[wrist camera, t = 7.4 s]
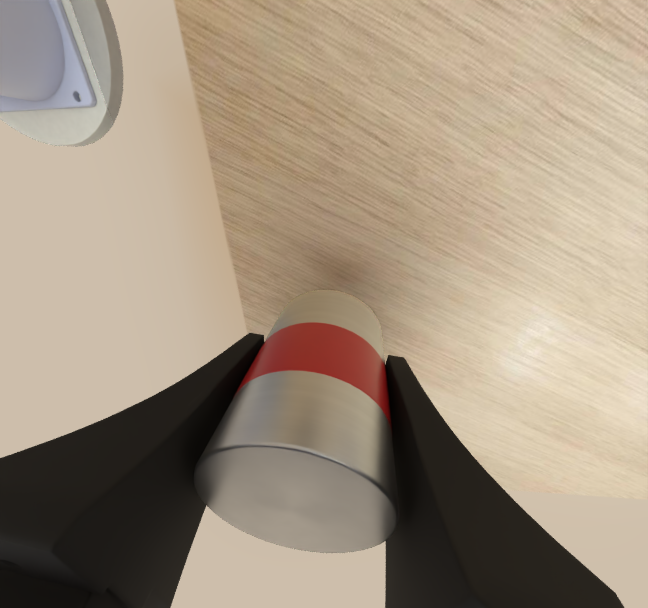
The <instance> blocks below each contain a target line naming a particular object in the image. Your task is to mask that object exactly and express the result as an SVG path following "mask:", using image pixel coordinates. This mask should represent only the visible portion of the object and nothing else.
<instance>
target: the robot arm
mask: <svg viewBox="0 0 648 608" xmlns="http://www.w3.org/2000/svg"><path fill="white" fill-rule="evenodd" d="M79 94H80V96H81V100H80V98H79ZM96 102H97V100H96V96H95V93H94V91H93V88H92V85H91V82H90V80H89V77H88V74H87V71H86V68H85V66H84V63H83V60H82V57H81V55H80V52H79V49H78V46H77V43H76V41H75V38H74V35H73V32H72V29H71V27H70V24H69V21H68V18H67V16H66V13H65V10H64V7H63V4H62V2H61V0H0V112H17V111H34V110H51V109H68V108H85V107H94V106H95V105H96ZM263 344H264V335H260V334H254V333H249V334H247V335H246V336H244V337H243V338H242V339H241V340H239V341H238V342H236V343H235V344H234V345H232V346H231V347H230V348H228V349H227V350H226V351H224V352H223V353H221V354H220V355H218V356H217V357H216V358H214V359H213V360H211V361H210V362H208V363H207V364H206V365H204V366H202V367H201V368H199V369H198V370H196V371H195V372H193V373H192V374H190V375H189V376H187V377H185V378H184V379H182V380H180V381H179V382H177V383H175V384H174V385H172V386H170V387H168V388H167V389H165V390H163V391H161V392H159V393H158V394H156V395H154V396H152V397H150V398H148V399H146V400H144V401H142V402H140V403H138V404H135V405H133V406H131V407H129V408H127V409H125V410H123V411H121V412H119V413H117V414H114V415H112V416H110V417H108V418H106V419H103V420H101V421H98V422H96V423H94V424H91V425H89V426H86V427H84V428H82V429H79V430H77V431H74V432H72V433H69V434H67V435H64V436H61V437H59V438H56V439H53V440H51V441H48V442H45V443H42V444H39V445H37V446H34V447H31V448H28V449H25V450H23V451H20V452H17V453H14V454H12V455H8V456H5V457H3V458H0V608H170V607H171V604H172V601H173V598H174V595H175V592H176V589H177V586H178V583H179V580H180V577H181V574H182V571H183V568H184V565H185V563H186V559H187V557H188V553H189V551H190V548H191V545H192V543H193V540H194V537H195V534H196V532H197V529H198V526H199V523H200V521H201V518H202V515H203V513H204V510H205V507H206V504H205V503H204V502H203V501H202V499H201V498H200V496H199V495H198V493H197V491H196V488H195V485H194V470H195V467H196V464H197V463H198V461H199V459H200V457H201V455H202V454H203V452H204V450H205V448H206V446H207V445H208V443H209V441H210V439H211V437H212V436H213V434H214V432H215V430H216V429H217V427H218V425H219V423H220V421H221V420H222V418H223V416H224V414H225V412H226V411H227V409H228V407H229V405H230V403H231V402H232V400H233V397H234V395H235V393H236V391H237V390H238V388H239V386H240V384H241V382H242V381H243V379H244V377H245V375H246V373H247V372H248V370H249V368H250V366H251V365H252V363H253V361H254V359H255V357H256V356H257V354H258V352H259V350H260V349H261V347H262V345H263ZM385 368H386V374H387V383H388V393H389V404H390V414H391V424H392V442H393V452H394V463H395V473H396V484H397V495H398V505H399V522H398V525H397V528H396V530H395V532H394V533H393V535H392V536H391V537H390V538H388V539H387V540H386V602H385V608H624V606H623V605H622V603H621V601H620V600H619V598H618V597H617V595H616V593H615V592H614V591H612V590H611V589H610V588H609V587H608V586H607V585H606V584H604V583H603V582H602V581H601V580H600V579H599V578H598V577H597V576H595V575H594V574H593V573H592V572H591V571H590V570H589V569H587V568H586V567H585V566H584V565H583V564H582V563H581V562H580V561H578V560H577V559H576V558H575V557H574V556H573V555H571V553H569V552H568V551H567V550H566V549H565V548H564V547H563V546H561V545H560V544H559V543H558V542H557V541H556V540H555V539H554V538H553V537H552V536H551V535H549V534H548V533H547V532H546V531H545V530H544V529H543V528H542V527H541V526H540V525H539V524H538V523H537V522H536V521H535V520H534V519H533V518H532V517H531V516H529V515H528V514H527V513H526V512H525V511H524V510H523V509H522V508H521V507H520V506H519V505H518V504H517V503H516V502H515V501H514V500H513V499H512V498H511V497H510V496H509V495H508V494H507V493H506V491H505V490H504V489H503V488H502V487H501V486H500V485H499V484H498V483H497V482H496V481H495V480H494V479H493V478H492V477H491V476H490V475H489V474H488V473H487V472H486V470H485V469H484V468H483V467H482V466H481V465H480V464H479V463H478V462H477V460H476V459H475V458H474V457H473V456H472V455H471V453H470V452H469V451H468V450H467V449H466V447H465V446H464V445H463V444H462V443H461V441H460V440H459V439H458V438H457V436H456V435H455V434H454V433H453V431H452V430H451V429H450V427H449V426H448V425H447V423H446V422H445V421H444V419H443V418H442V416H441V415H440V414H439V412H438V411H437V409H436V408H435V406H434V405H433V403H432V402H431V400H430V399H429V397H428V396H427V394H426V393H425V391H424V390H423V388H422V387H421V385H420V383H419V382H418V380H417V378H416V377H415V375H414V373H413V372H412V370H411V368H410V367H409V365H408V363H407V361H406V360H405V359H404V358H403V357H397V356H391V355H388V358H387V361H386V365H385Z"/></svg>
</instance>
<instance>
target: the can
mask: <svg viewBox="0 0 648 608" xmlns="http://www.w3.org/2000/svg"><path fill="white" fill-rule="evenodd" d="M194 485H195V488H196V491H197V493H198V495H199V496H200V498H201V499H202V501H203V502H204V503H205V504H206V505H207V506H208V507H209V508H210V509H211V510H212V511H213V512H214V513H215V514H217V515H218V516H219V517H220V518H222V519H223V520H225V521H226V522H228V523H229V524H231V525H232V526H234V527H236V528H238V529H239V530H242V531H243V532H246V533H247V534H250V535H252V536H254V537H257V538H259V539H262V540H265V541H267V542H270V543H274V544H277V545H281V546H284V547H288V548H294V549H298V550H304V551H310V552H320V553H345V552H354V551H360V550H365V549H368V548H372V547H374V546H376V545H379V544H381V543H382V542H384V541H386V540H387V539H388V538H390V537H391V536H392V535H393V533H394V532H395V530H396V528H397V525H398V522H399V505H398V495H397V484H396V473H395V463H394V452H393V442H392V424H391V414H390V404H389V393H388V383H387V374H386V368H385V358H384V347H383V336H382V329H381V326H380V323H379V321H378V319H377V317H376V315H375V314H374V312H373V311H372V310H371V309H370V308H369V307H368V306H367V305H366V304H365V303H364V302H362V301H361V300H359V299H358V298H356V297H354V296H352V295H350V294H347V293H344V292H341V291H336V290H327V289H326V290H314V291H310V292H306V293H304V294H301V295H299V296H297V297H296V298H294V299H293V300H291V301H290V302H289V303H288V304H287V305H286V306H285V307H284V309H283V310H282V312H281V314H280V316H279V317H278V319H277V321H276V323H275V325H274V326H273V328H272V330H271V332H270V333H269V335H268V337H267V339H266V341H265V342H264V344H263V345H262V347H261V349H260V350H259V352H258V354H257V356H256V357H255V359H254V361H253V363H252V365H251V366H250V368H249V370H248V372H247V373H246V375H245V377H244V379H243V381H242V382H241V384H240V386H239V388H238V390H237V391H236V393H235V395H234V397H233V400H232V402H231V403H230V405H229V407H228V409H227V411H226V412H225V414H224V416H223V418H222V420H221V421H220V423H219V425H218V427H217V429H216V430H215V432H214V434H213V436H212V437H211V439H210V441H209V443H208V445H207V446H206V448H205V450H204V452H203V454H202V455H201V457H200V459H199V461H198V463H197V464H196V467H195V470H194Z"/></svg>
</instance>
